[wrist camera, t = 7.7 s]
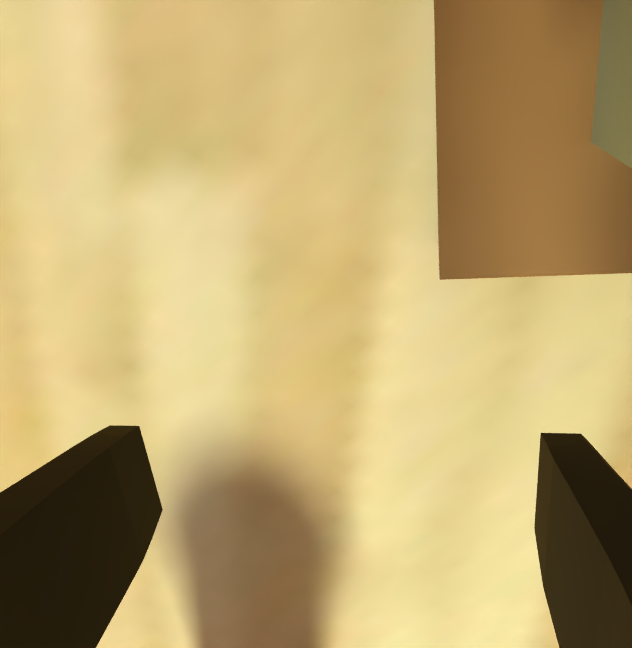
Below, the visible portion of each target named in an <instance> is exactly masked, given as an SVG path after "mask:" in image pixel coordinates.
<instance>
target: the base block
mask: <svg viewBox="0 0 632 648" xmlns="http://www.w3.org/2000/svg"><path fill="white" fill-rule="evenodd" d="M603 1H604V0H434V21H435V74H436V127H437V181H438V234H439V271H440V280H441V279H470V278H499V277H527V276H556V275H585V274H613V273H632V168H630V167H629V166H627V165H626V164H624V163H623V162H621V161H619V160H618V159H616V158H615V157H613V156H612V155H610V154H608V153H607V152H605V151H604V150H602V149H601V148H599V147H597V146H596V145H594V144H593V143H591V137H592V125H593V114H594V103H595V91H596V80H597V69H598V58H599V46H600V35H601V24H602V12H603Z"/></svg>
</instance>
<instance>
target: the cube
mask: <svg viewBox="0 0 632 648" xmlns="http://www.w3.org/2000/svg"><path fill="white" fill-rule="evenodd" d="M591 143H593V144H594V145H596V146H597V147H599V148H601V149H602V150H604V151H605V152H607V153H608V154H610V155H612V156H613V157H615V158H616V159H618V160H619V161H621V162H623V163H624V164H626V165H627V166H629V167H630V168H632V0H604V1H603V12H602V24H601V35H600V46H599V58H598V69H597V80H596V91H595V103H594V114H593V125H592V137H591Z"/></svg>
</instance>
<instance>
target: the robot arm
mask: <svg viewBox="0 0 632 648" xmlns="http://www.w3.org/2000/svg"><path fill="white" fill-rule="evenodd" d="M162 510H163V509H162V506H161V502H160V499H159V495H158V492H157V488H156V485H155V481H154V477H153V474H152V470H151V467H150V463H149V460H148V456H147V452H146V449H145V445H144V442H143V438H142V435H141V431H140V427H139V426H108V427H106V428H105V429H103V430H101V431H99V432H97V433H95V434H93V435H92V436H90V437H88V438H87V439H85V440H83V441H82V442H80V443H78V444H77V445H75V446H74V447H72V448H70V449H69V450H67V451H66V452H64V453H62V454H61V455H59V456H58V457H56V458H54V459H53V460H51V461H50V462H48V463H47V464H45V465H43V466H42V467H40V468H39V469H37V470H36V471H34V472H32V473H31V474H29V475H28V476H26V477H24V478H23V479H21V480H20V481H18V482H17V483H15V484H13V485H12V486H10V487H9V488H7V489H5V490H4V491H2V492H1V493H0V648H96V646H97V645H98V643H99V641H100V639H101V637H102V635H103V634H104V632H105V630H106V628H107V626H108V624H109V623H110V621H111V619H112V617H113V615H114V614H115V612H116V610H117V608H118V606H119V604H120V603H121V601H122V599H123V597H124V595H125V593H126V592H127V590H128V588H129V586H130V584H131V582H132V580H133V578H134V577H135V575H136V573H137V571H138V569H139V567H140V565H141V563H142V561H143V559H144V557H145V554H146V552H147V550H148V547H149V545H150V542H151V540H152V537H153V535H154V532H155V529H156V526H157V523H158V521H159V518H160V515H161V512H162ZM535 535H536V542H537V549H538V555H539V562H540V569H541V575H542V581H543V587H544V591H545V595H546V599H547V603H548V606H549V610H550V614H551V618H552V622H553V625H554V629H555V633H556V637H557V640H558V644H559V648H632V489H631V488H630V487H629V486H628V485H627V483H626V482H625V481H624V480H623V479H622V478H621V477H620V476H619V475H618V474H617V473H616V472H615V470H614V469H613V468H612V467H611V466H610V465H609V464H608V463H607V462H606V460H605V459H604V458H603V457H602V456H601V455H600V454H599V453H598V451H597V450H596V449H595V448H594V447H593V446H592V445H591V444H590V443H589V441H588V440H587V439H586V438H585V437H584V436H583V435H582V434H566V433H541V439H540V453H539V468H538V483H537V498H536V513H535Z"/></svg>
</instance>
